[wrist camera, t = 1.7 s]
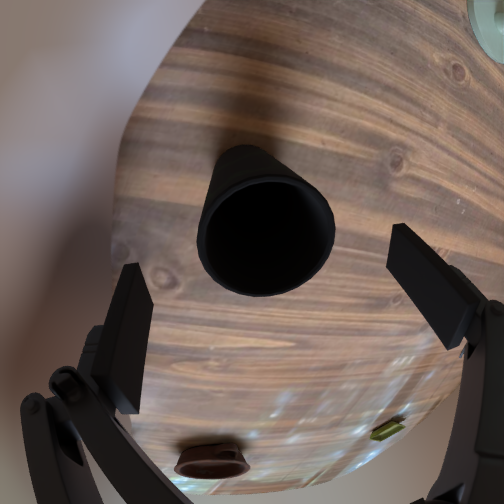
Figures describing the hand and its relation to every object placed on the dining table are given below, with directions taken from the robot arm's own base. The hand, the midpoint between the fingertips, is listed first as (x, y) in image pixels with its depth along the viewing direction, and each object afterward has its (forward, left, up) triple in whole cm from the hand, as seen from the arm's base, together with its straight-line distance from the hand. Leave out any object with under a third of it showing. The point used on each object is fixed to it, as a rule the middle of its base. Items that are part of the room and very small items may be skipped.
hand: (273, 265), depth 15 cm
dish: (+62, -15, -14) cm, 65 cm away
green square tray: (+71, +31, -14) cm, 79 cm away
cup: (0, 0, -14) cm, 14 cm away
